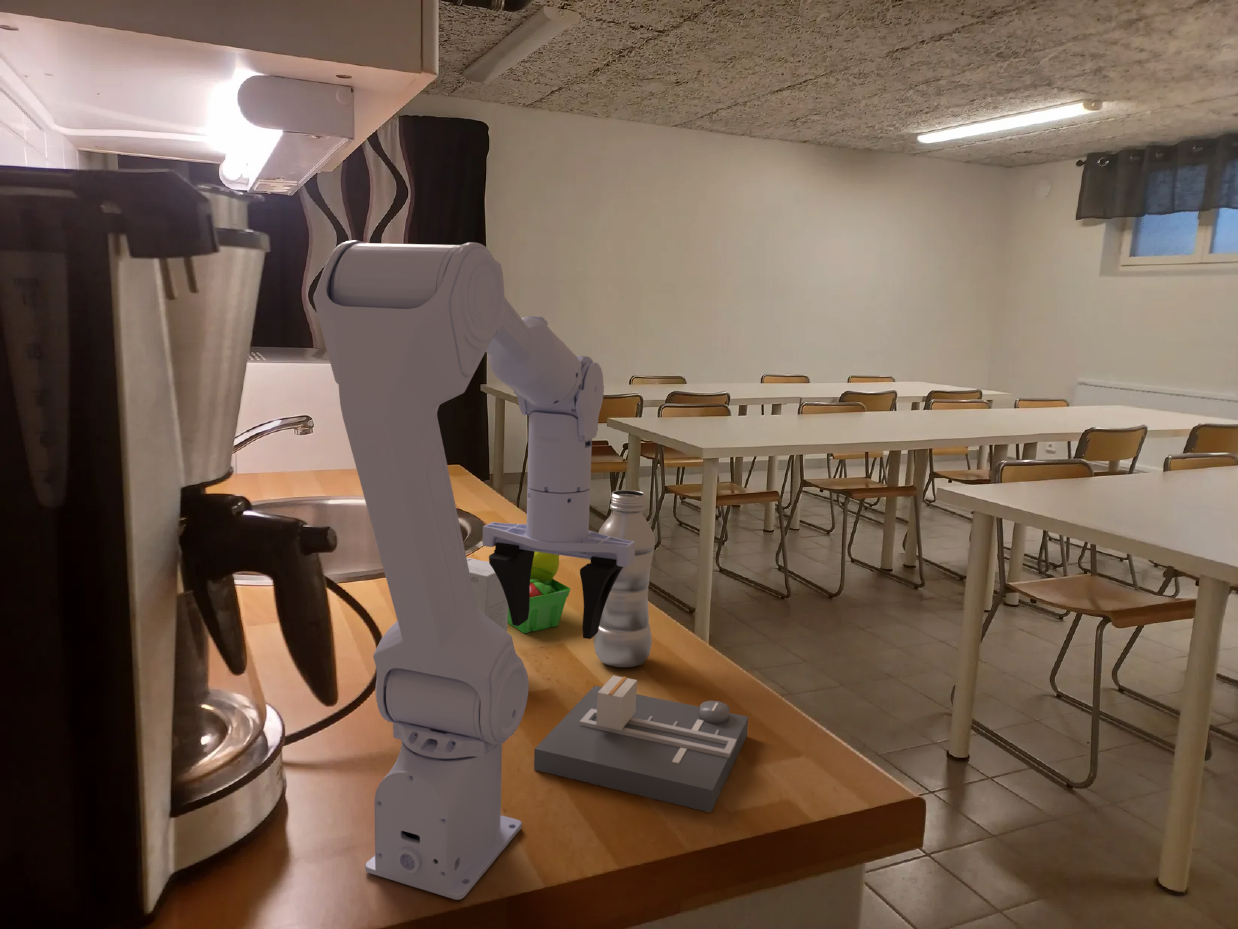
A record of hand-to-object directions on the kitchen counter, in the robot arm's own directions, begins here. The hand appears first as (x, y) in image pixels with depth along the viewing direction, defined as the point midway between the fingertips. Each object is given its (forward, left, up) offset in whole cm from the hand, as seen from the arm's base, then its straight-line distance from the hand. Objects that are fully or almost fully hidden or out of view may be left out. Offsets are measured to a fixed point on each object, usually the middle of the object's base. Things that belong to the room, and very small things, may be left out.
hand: (554, 628), depth 81 cm
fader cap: (0, -7, -8) cm, 10 cm away
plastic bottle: (+18, 0, -11) cm, 21 cm away
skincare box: (+9, +14, -11) cm, 19 cm away
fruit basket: (+26, +16, -11) cm, 32 cm away
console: (0, -9, -10) cm, 14 cm away
